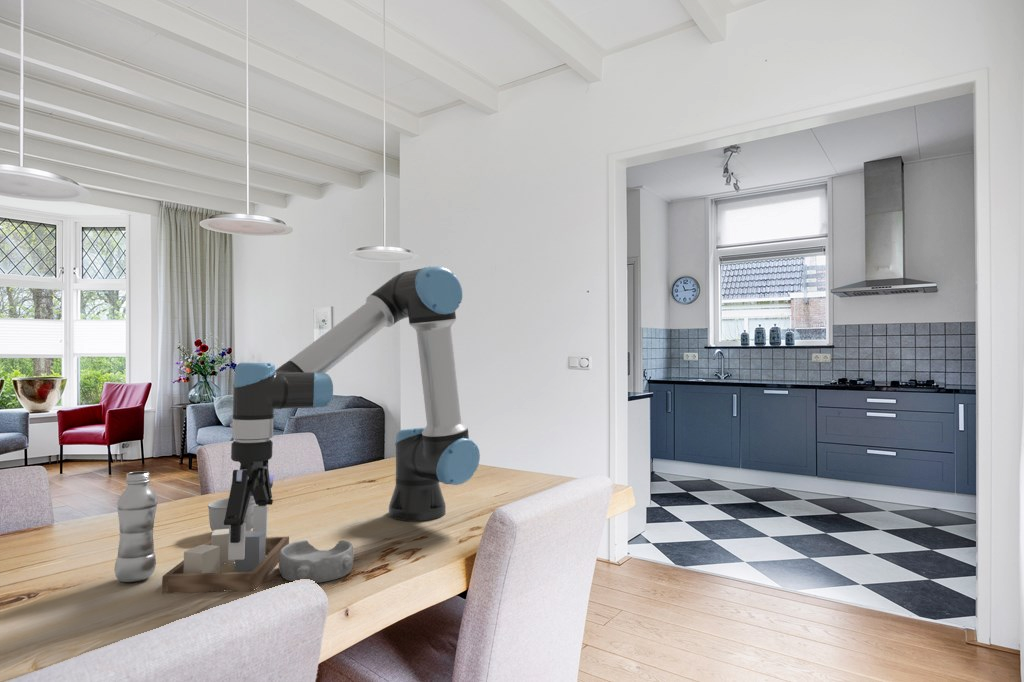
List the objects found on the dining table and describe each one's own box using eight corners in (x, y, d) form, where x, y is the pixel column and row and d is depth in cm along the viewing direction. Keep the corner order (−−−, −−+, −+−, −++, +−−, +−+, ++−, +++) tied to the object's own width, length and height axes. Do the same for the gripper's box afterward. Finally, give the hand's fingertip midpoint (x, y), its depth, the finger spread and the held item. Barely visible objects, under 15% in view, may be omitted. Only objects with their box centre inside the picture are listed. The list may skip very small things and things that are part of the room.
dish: (278, 565, 120) (278, 541, 120) (349, 557, 125) (349, 533, 125) (278, 592, 106) (279, 564, 106) (357, 582, 111) (358, 555, 112)
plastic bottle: (126, 574, 114) (128, 470, 115) (162, 573, 115) (165, 469, 115) (106, 587, 108) (108, 476, 108) (145, 586, 108) (147, 476, 109)
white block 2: (236, 556, 125) (237, 527, 125) (235, 562, 121) (235, 533, 121) (213, 559, 123) (213, 529, 123) (210, 565, 119) (211, 535, 119)
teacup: (238, 542, 134) (238, 506, 134) (196, 539, 136) (197, 504, 136) (274, 525, 148) (275, 493, 148) (236, 522, 150) (236, 490, 150)
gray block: (265, 565, 119) (265, 530, 120) (258, 572, 115) (259, 536, 116) (242, 566, 119) (242, 531, 119) (234, 573, 115) (235, 537, 115)
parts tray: (288, 550, 129) (289, 536, 129) (255, 590, 107) (255, 573, 107) (212, 552, 127) (212, 538, 127) (162, 593, 105) (162, 576, 105)
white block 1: (219, 577, 113) (219, 546, 113) (201, 586, 108) (202, 553, 108) (201, 575, 114) (202, 544, 114) (183, 584, 109) (183, 551, 109)
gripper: (253, 432, 130) (250, 529, 129) (206, 449, 105) (202, 570, 104) (289, 432, 131) (286, 529, 130) (250, 449, 106) (246, 569, 105)
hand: (248, 547), depth 117 cm, fingers open, 13 cm apart
